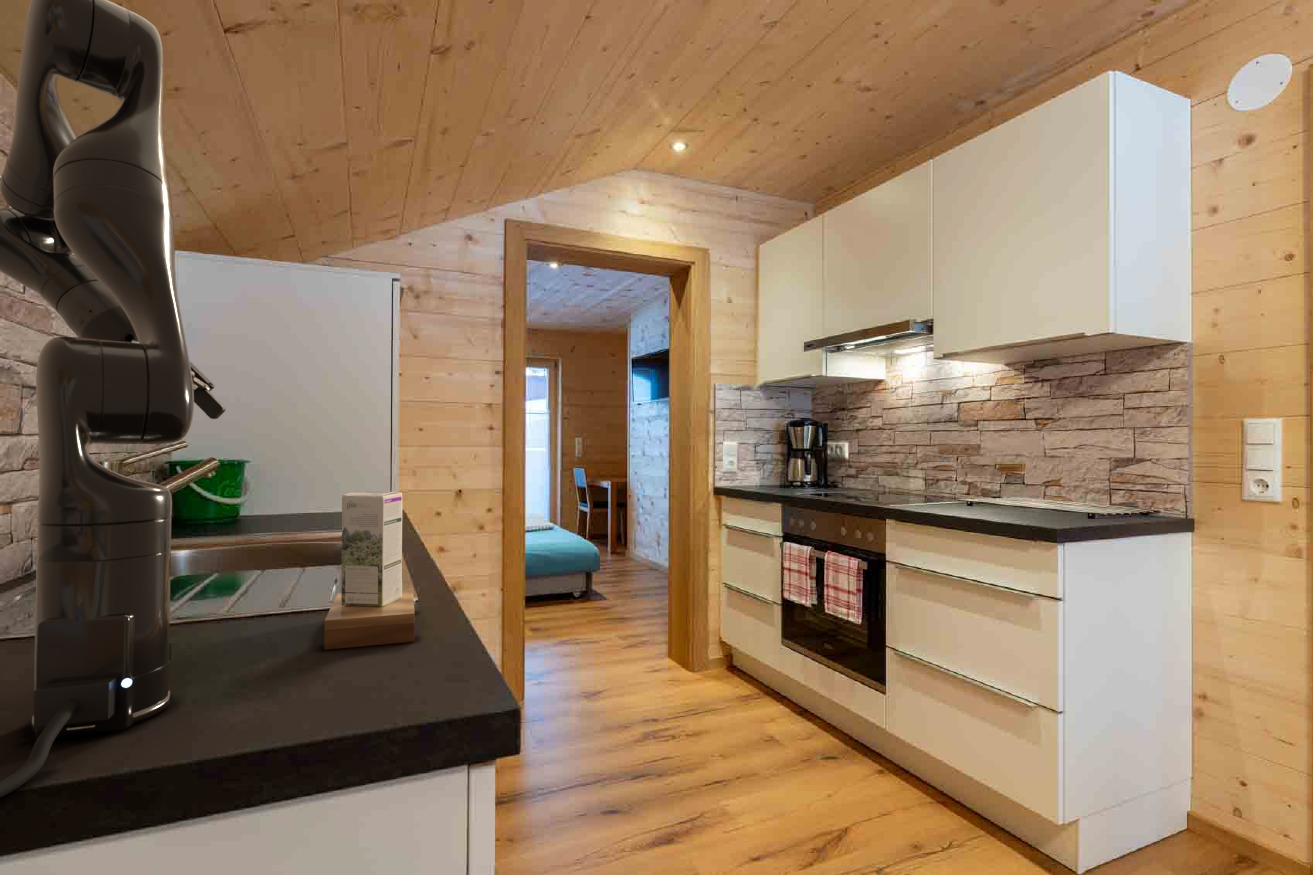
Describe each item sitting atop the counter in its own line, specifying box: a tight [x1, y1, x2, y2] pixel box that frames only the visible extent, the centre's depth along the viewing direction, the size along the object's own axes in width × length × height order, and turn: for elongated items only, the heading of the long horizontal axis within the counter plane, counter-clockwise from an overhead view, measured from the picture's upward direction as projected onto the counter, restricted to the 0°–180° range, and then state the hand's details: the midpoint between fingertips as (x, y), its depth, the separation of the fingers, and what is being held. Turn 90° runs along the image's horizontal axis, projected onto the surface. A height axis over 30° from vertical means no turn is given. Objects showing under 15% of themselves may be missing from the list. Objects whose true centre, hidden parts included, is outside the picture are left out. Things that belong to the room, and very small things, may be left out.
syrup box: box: [341, 491, 403, 606], centre depth 89 cm, size 6×6×14 cm
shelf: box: [323, 587, 416, 651], centre depth 88 cm, size 16×10×4 cm, turn 21°
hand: (198, 412), depth 87 cm, fingers open, 8 cm apart
